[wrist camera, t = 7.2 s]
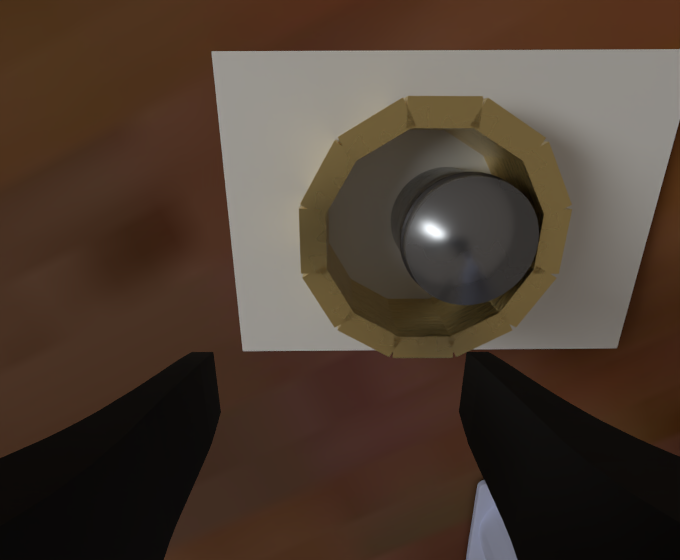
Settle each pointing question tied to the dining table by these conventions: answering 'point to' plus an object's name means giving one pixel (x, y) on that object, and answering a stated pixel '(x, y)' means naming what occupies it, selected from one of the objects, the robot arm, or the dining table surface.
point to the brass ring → (433, 314)
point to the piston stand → (443, 184)
